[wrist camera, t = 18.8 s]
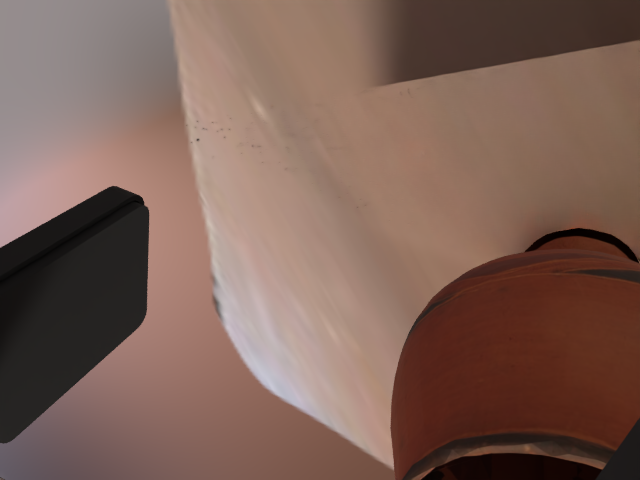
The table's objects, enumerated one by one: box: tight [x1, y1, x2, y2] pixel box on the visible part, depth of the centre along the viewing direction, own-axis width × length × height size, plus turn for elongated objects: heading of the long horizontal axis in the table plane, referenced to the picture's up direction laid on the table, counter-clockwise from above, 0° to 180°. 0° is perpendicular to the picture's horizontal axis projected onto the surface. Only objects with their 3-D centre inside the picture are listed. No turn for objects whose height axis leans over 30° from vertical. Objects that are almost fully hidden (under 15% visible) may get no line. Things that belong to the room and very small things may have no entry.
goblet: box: [391, 228, 640, 480], centre depth 35 cm, size 19×19×25 cm
